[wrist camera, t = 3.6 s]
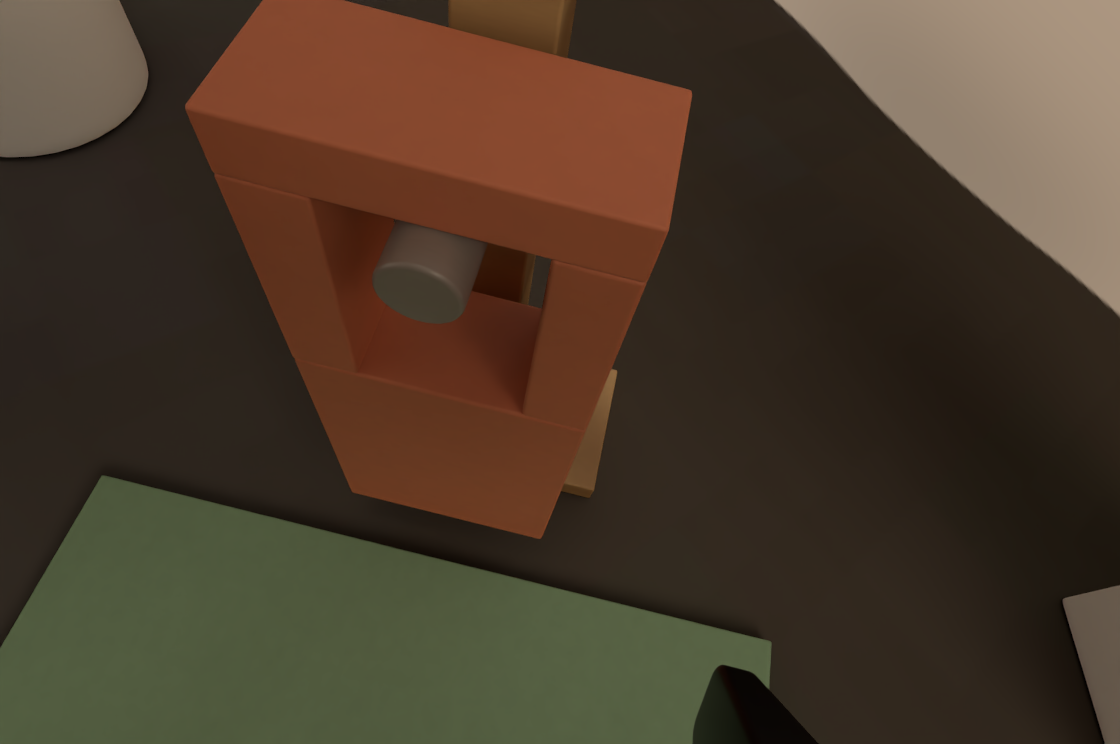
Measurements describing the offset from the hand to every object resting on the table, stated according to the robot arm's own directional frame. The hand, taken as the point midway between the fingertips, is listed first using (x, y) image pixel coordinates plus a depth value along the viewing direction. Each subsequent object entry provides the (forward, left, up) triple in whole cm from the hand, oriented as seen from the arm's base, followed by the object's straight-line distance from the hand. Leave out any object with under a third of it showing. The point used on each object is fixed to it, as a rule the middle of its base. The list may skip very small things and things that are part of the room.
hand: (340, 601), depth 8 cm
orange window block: (+5, -2, -10) cm, 11 cm away
